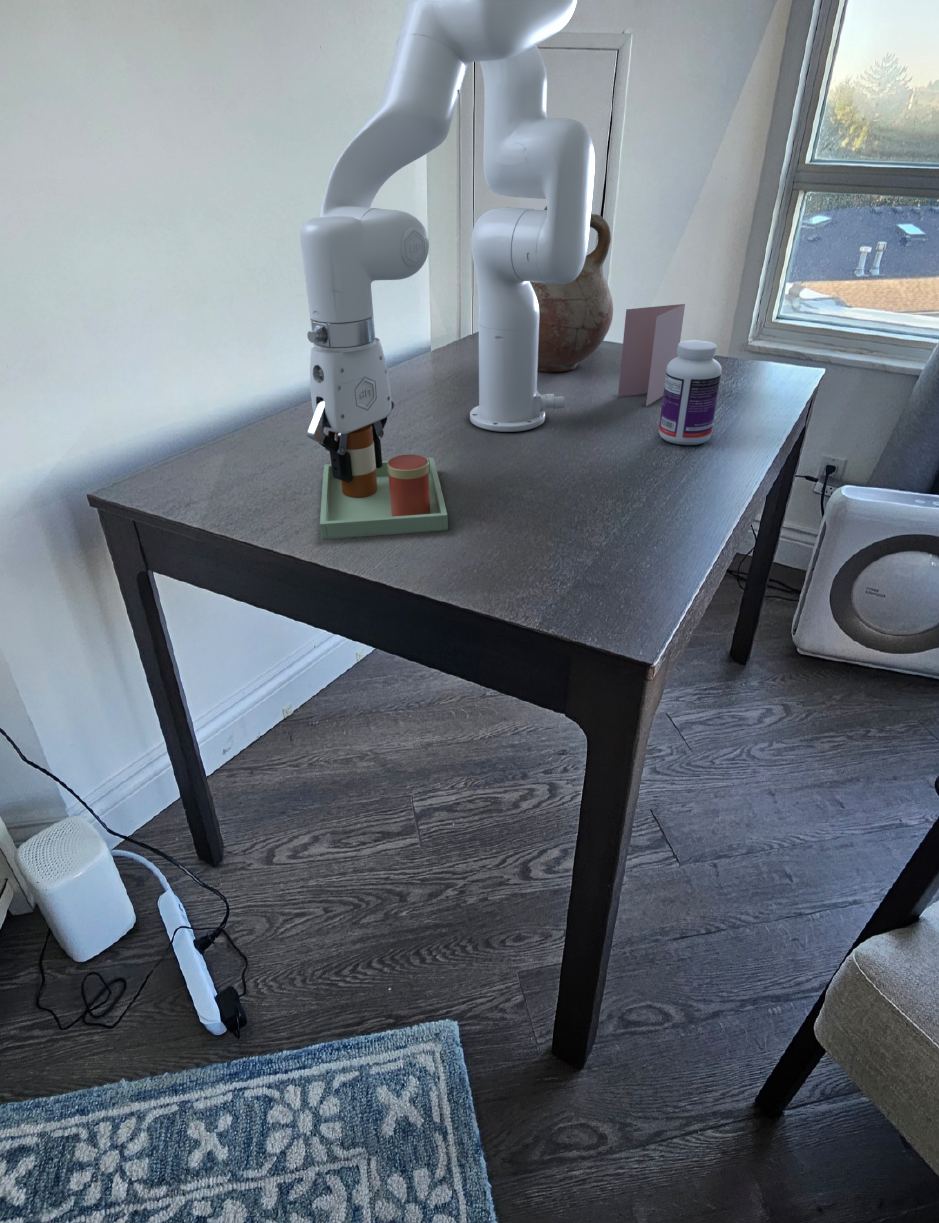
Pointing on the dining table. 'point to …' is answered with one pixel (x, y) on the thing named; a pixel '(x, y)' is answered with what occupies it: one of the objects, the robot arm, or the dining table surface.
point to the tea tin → (409, 485)
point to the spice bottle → (361, 463)
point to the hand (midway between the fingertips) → (357, 471)
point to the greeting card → (649, 349)
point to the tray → (376, 509)
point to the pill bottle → (690, 394)
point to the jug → (575, 310)
